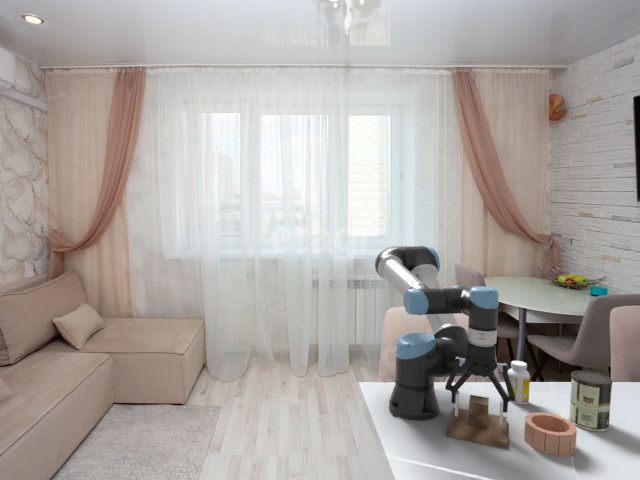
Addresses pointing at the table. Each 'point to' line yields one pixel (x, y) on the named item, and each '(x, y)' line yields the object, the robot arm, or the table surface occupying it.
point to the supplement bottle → (519, 382)
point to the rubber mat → (478, 442)
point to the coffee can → (590, 400)
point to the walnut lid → (478, 424)
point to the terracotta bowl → (550, 434)
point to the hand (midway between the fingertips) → (478, 418)
